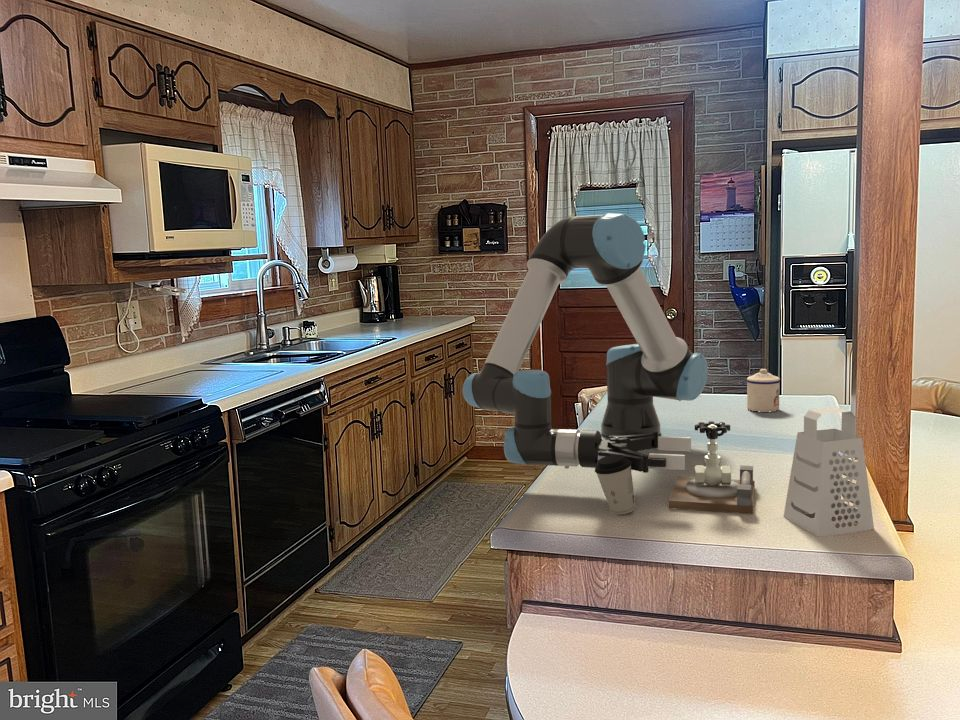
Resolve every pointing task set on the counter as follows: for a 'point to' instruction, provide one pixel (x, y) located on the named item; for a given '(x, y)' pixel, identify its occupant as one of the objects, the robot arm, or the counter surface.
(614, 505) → the coffee cup
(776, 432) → the counter surface
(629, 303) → the robot arm
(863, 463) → the grater
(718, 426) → the valve
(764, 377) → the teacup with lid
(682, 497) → the shaft stand
